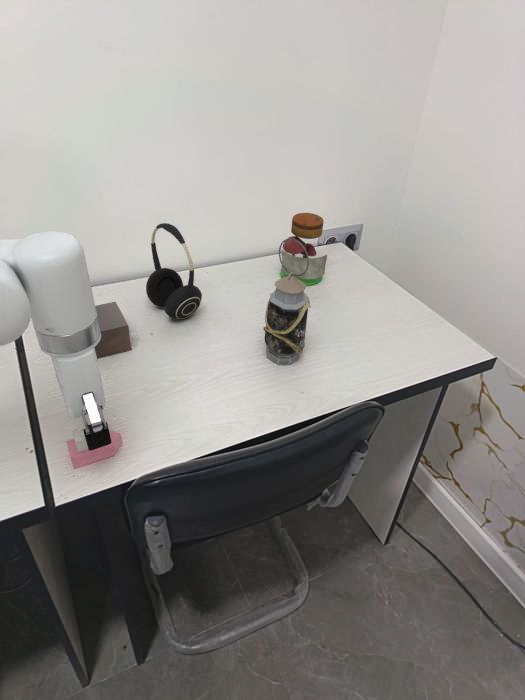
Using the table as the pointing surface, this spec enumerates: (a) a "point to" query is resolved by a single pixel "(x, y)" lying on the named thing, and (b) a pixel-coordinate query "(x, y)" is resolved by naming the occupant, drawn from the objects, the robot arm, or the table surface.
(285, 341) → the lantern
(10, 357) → the table surface
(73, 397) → the robot arm
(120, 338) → the block
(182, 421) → the table surface
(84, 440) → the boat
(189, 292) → the headphones
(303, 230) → the brown red grey stack
